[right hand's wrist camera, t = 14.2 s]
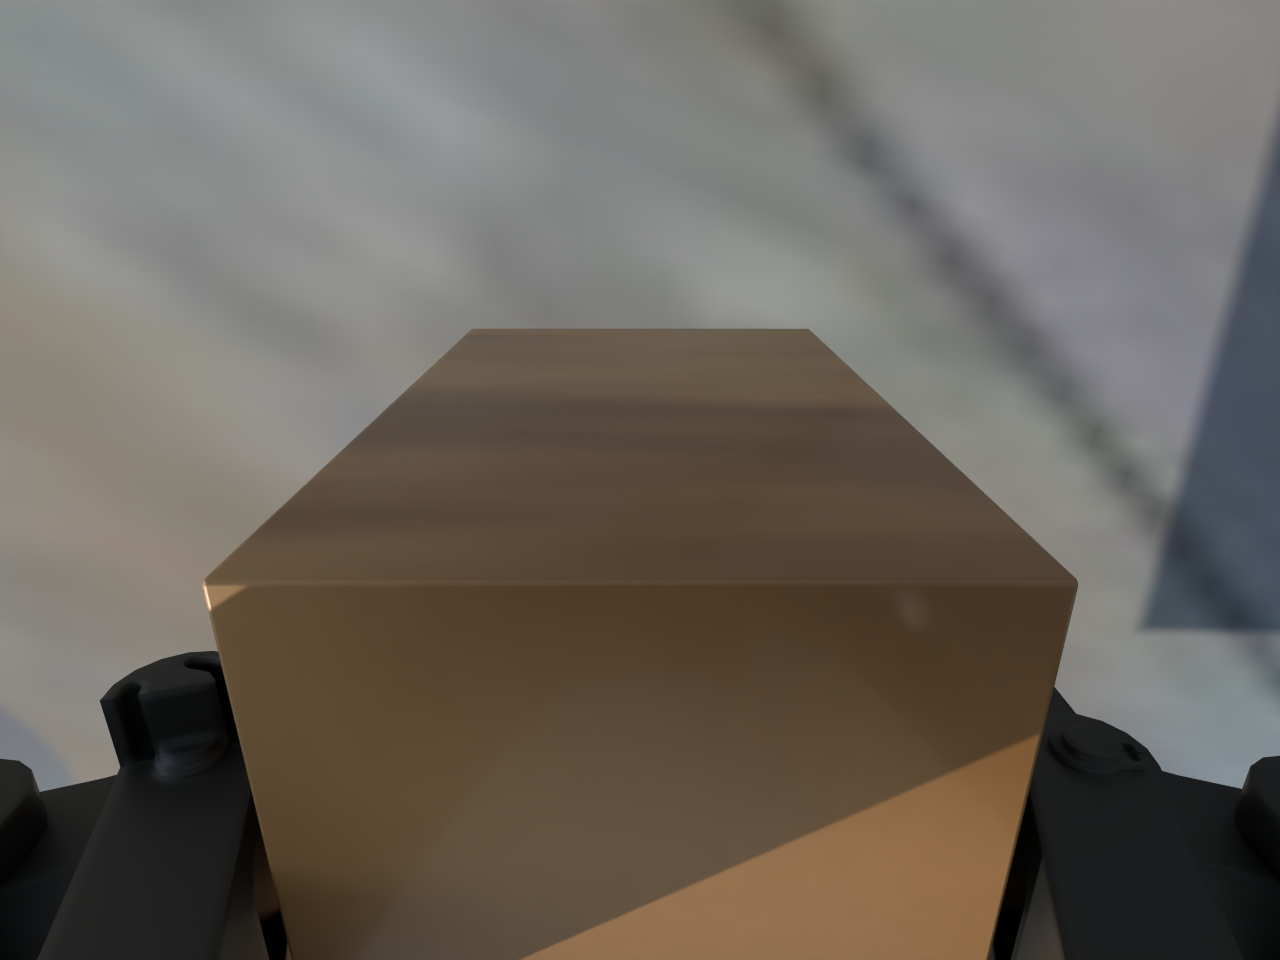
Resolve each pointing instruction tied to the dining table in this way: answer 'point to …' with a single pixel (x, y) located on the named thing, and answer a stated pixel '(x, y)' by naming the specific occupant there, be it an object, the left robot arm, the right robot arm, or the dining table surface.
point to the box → (640, 665)
